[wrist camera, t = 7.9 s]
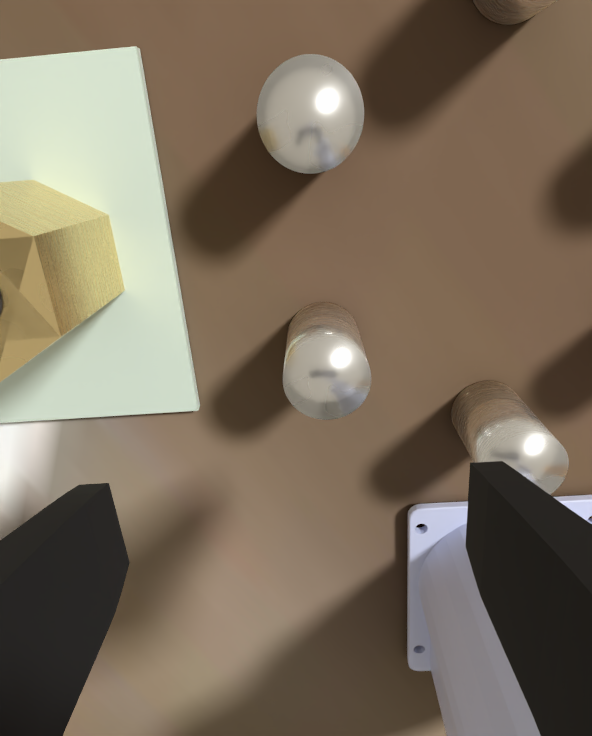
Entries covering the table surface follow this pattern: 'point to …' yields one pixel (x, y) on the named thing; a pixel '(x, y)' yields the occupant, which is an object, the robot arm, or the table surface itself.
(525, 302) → the table surface
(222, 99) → the table surface
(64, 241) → the brass nut
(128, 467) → the table surface
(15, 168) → the pad
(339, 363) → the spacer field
